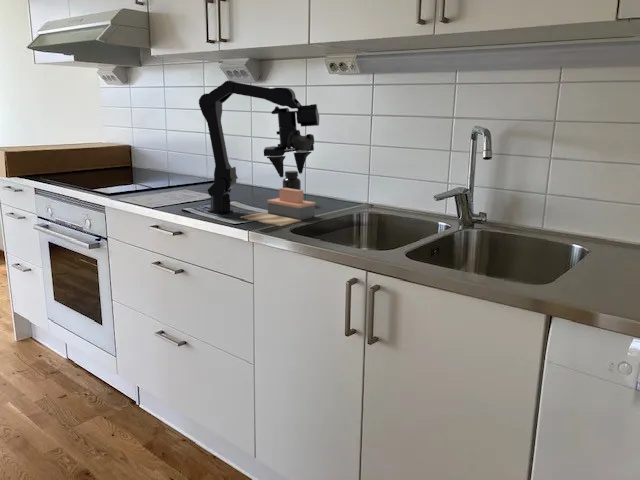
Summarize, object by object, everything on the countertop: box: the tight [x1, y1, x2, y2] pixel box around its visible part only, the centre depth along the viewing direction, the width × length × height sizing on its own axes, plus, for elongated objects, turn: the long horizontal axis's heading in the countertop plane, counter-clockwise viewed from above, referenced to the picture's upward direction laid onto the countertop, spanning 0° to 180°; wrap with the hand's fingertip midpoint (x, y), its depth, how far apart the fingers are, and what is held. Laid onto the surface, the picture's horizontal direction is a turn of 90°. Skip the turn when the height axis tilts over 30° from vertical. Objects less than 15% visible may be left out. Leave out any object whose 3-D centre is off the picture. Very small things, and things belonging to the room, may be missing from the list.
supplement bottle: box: [282, 170, 302, 190], centre depth 208 cm, size 7×7×12 cm
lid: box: [266, 187, 317, 208], centre depth 186 cm, size 14×8×6 cm, turn 51°
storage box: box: [267, 202, 316, 220], centre depth 187 cm, size 14×8×4 cm, turn 51°
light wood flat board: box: [239, 212, 303, 227], centre depth 180 cm, size 18×10×1 cm, turn 51°
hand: (291, 175), depth 184 cm, fingers open, 9 cm apart
